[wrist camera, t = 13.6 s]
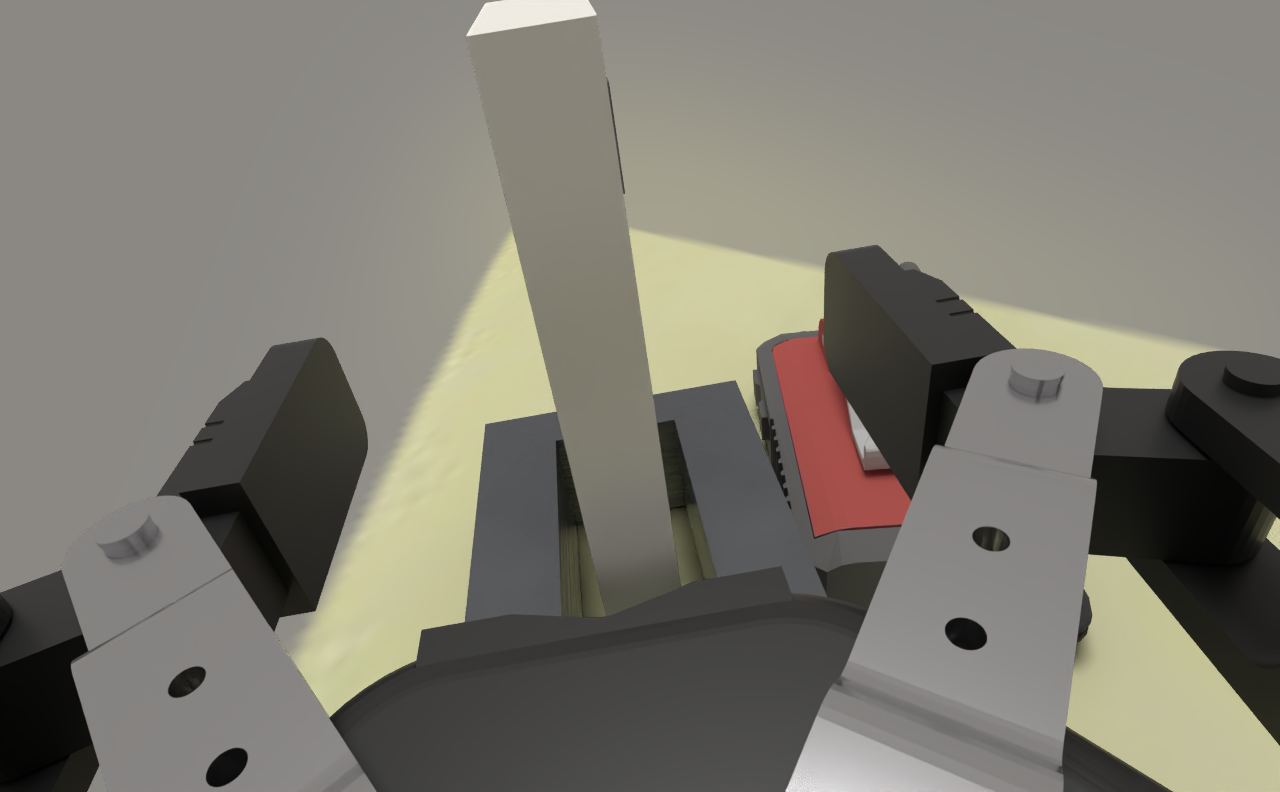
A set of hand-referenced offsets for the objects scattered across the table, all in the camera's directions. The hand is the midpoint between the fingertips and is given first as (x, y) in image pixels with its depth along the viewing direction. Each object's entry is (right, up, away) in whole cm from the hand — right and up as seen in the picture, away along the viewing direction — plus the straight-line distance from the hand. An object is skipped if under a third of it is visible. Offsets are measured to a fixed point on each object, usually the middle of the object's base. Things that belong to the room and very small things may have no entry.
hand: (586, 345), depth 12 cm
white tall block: (+1, -6, +10) cm, 11 cm away
